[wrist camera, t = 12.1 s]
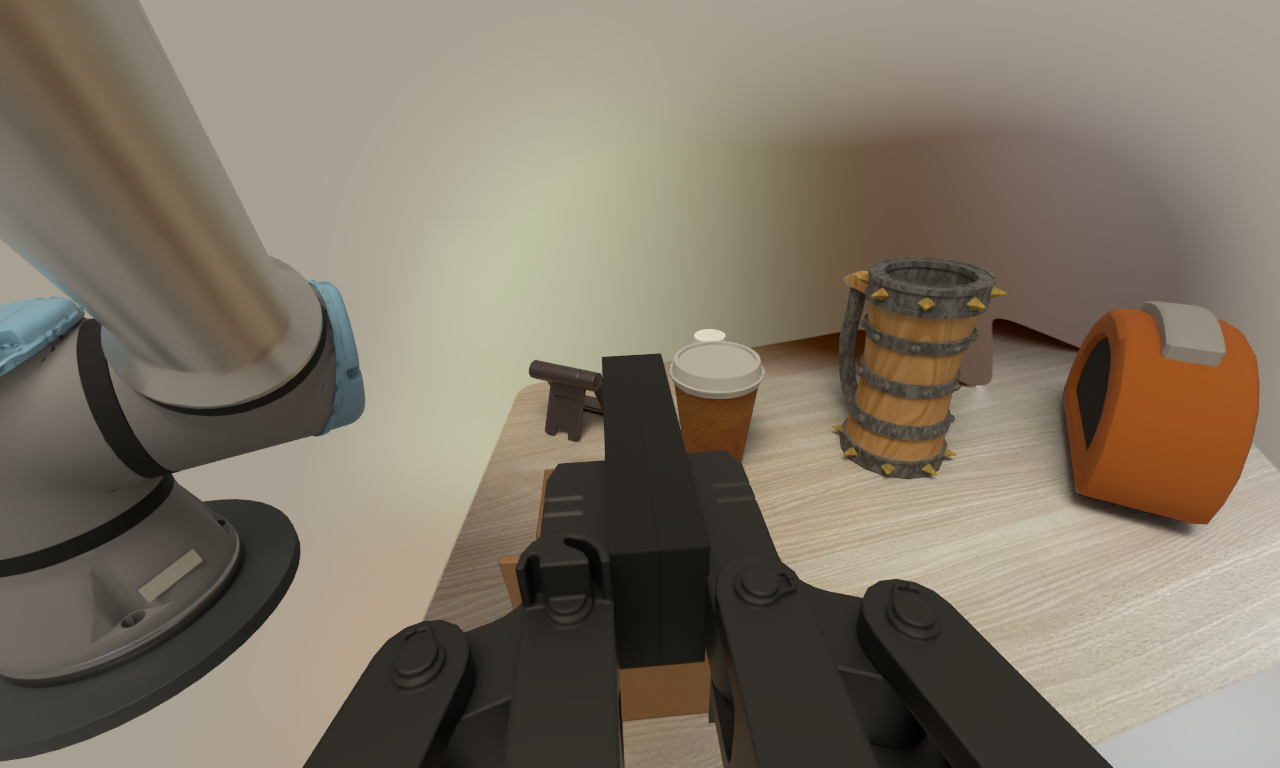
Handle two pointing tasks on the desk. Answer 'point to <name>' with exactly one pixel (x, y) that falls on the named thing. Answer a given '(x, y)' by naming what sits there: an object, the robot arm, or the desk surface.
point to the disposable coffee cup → (716, 394)
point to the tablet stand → (568, 395)
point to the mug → (907, 359)
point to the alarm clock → (1162, 410)
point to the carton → (658, 679)
